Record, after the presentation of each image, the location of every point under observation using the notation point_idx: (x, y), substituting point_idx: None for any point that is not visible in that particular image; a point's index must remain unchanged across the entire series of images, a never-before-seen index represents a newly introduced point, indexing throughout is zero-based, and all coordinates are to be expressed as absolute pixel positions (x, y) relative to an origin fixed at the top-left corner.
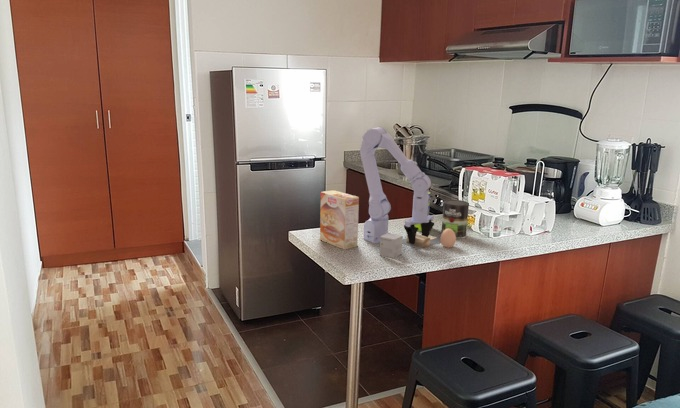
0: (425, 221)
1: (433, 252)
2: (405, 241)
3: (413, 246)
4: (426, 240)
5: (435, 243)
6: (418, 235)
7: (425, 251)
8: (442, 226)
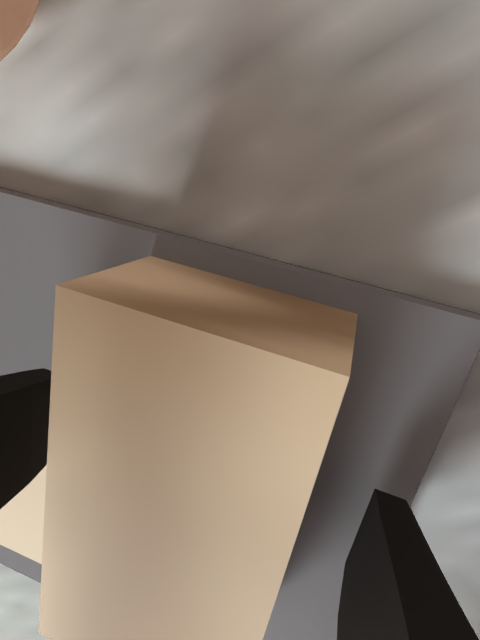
0: None
1: (441, 9)
2: None
3: (392, 466)
4: (210, 316)
5: (11, 226)
6: (97, 551)
7: (475, 189)
8: None
